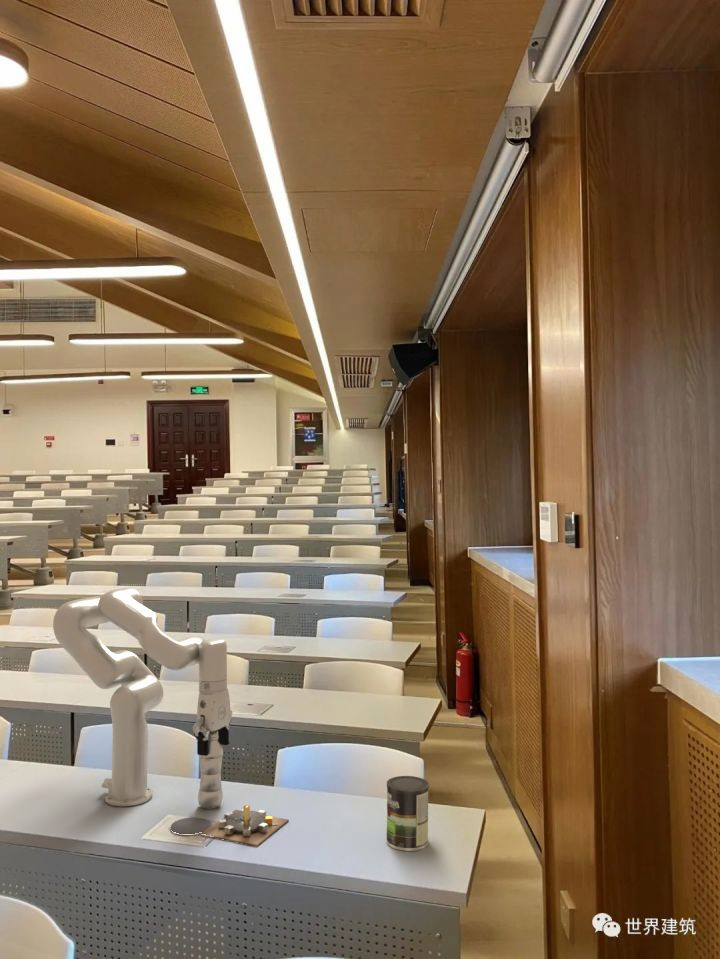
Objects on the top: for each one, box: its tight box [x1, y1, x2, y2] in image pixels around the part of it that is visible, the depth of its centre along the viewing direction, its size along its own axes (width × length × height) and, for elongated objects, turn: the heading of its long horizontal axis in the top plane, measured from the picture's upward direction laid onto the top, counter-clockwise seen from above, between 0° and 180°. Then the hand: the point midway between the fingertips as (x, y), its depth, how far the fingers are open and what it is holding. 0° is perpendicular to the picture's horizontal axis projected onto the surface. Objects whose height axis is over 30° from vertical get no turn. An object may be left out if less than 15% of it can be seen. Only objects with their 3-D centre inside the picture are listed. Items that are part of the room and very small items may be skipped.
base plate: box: [200, 809, 290, 848], centre depth 186 cm, size 16×16×1 cm
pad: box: [170, 816, 212, 834], centre depth 186 cm, size 10×10×1 cm
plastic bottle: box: [197, 730, 224, 810], centre depth 200 cm, size 6×7×20 cm
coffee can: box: [385, 775, 430, 852], centre depth 179 cm, size 10×10×14 cm
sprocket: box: [218, 804, 273, 836], centre depth 186 cm, size 13×13×6 cm
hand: (213, 749), depth 200 cm, fingers open, 9 cm apart
